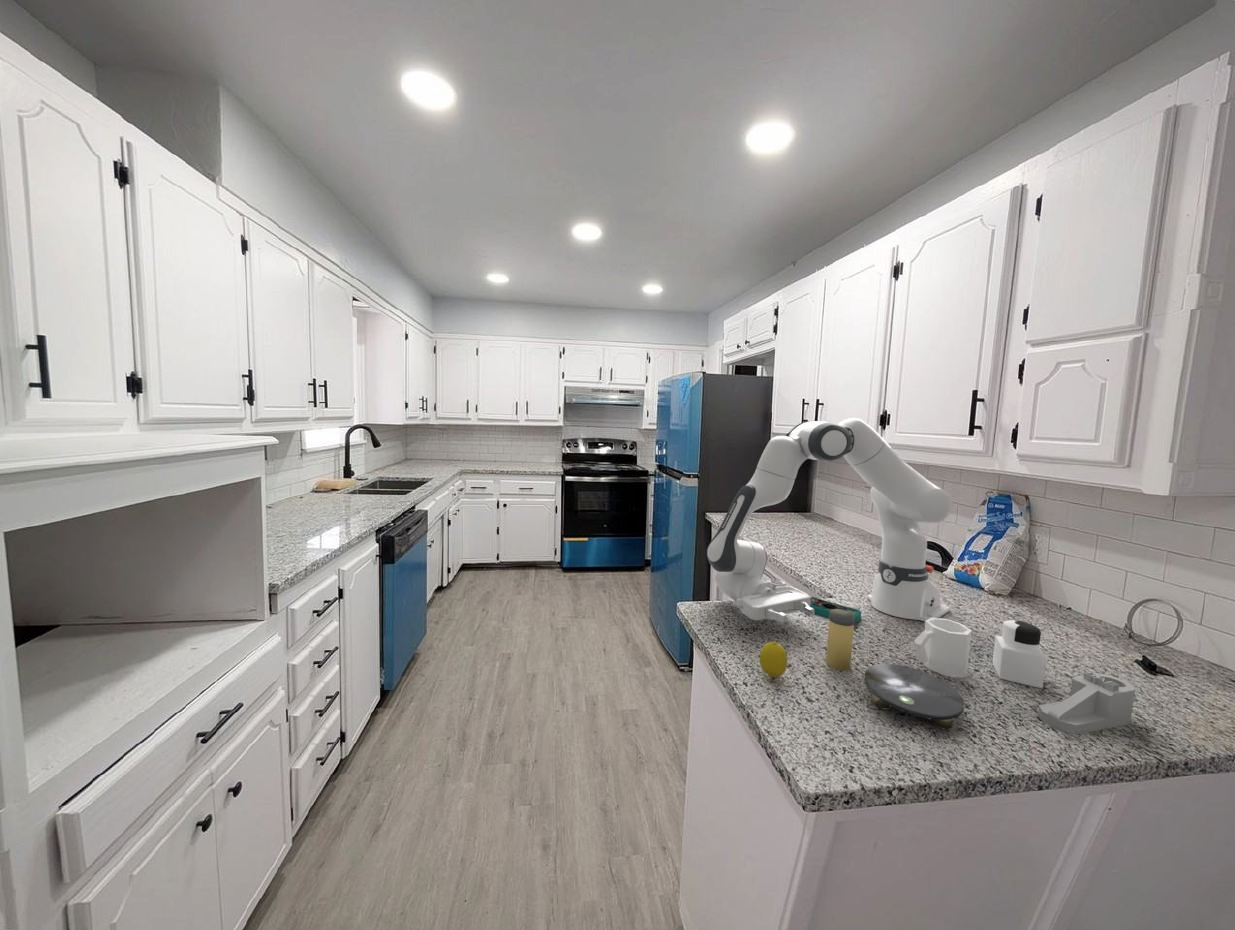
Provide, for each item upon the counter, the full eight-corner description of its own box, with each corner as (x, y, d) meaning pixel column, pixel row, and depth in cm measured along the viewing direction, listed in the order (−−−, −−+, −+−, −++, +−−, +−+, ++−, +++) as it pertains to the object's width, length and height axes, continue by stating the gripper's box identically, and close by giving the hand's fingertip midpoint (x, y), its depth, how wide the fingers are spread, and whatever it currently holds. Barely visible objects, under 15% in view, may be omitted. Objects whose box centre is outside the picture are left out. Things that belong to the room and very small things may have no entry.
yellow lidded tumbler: (836, 656, 104) (839, 607, 102) (856, 667, 99) (860, 616, 98) (820, 661, 101) (824, 611, 100) (840, 672, 97) (844, 620, 96)
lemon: (754, 677, 94) (756, 641, 94) (766, 667, 98) (768, 633, 97) (778, 688, 90) (781, 651, 90) (790, 678, 94) (792, 642, 93)
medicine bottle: (1032, 673, 98) (1039, 621, 97) (1043, 689, 92) (1050, 634, 91) (991, 663, 102) (997, 614, 101) (999, 678, 96) (1005, 626, 95)
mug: (941, 655, 105) (945, 616, 104) (977, 676, 97) (982, 633, 96) (899, 660, 103) (903, 619, 102) (932, 681, 94) (936, 637, 93)
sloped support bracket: (1032, 716, 84) (1037, 676, 83) (1098, 704, 88) (1104, 666, 87) (1068, 737, 78) (1074, 694, 78) (1138, 723, 83) (1144, 682, 82)
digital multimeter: (809, 603, 135) (809, 594, 135) (861, 619, 125) (862, 609, 125) (799, 610, 130) (799, 601, 130) (853, 627, 120) (854, 617, 120)
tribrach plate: (895, 675, 96) (896, 656, 96) (980, 720, 82) (982, 698, 82) (845, 692, 90) (847, 672, 89) (929, 745, 75) (931, 721, 75)
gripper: (730, 590, 118) (768, 610, 105) (786, 580, 127) (827, 597, 114) (729, 612, 118) (766, 635, 106) (785, 601, 127) (826, 621, 115)
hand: (798, 615), depth 110 cm, fingers open, 8 cm apart
